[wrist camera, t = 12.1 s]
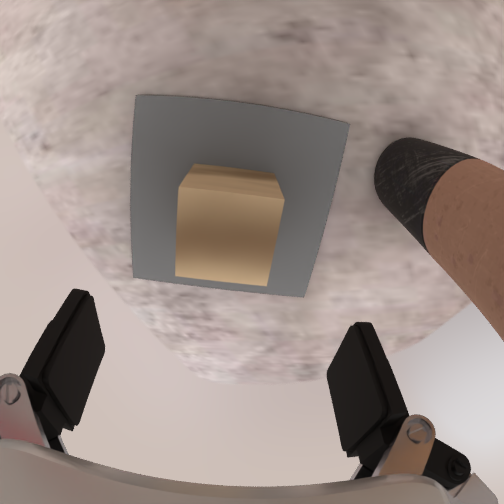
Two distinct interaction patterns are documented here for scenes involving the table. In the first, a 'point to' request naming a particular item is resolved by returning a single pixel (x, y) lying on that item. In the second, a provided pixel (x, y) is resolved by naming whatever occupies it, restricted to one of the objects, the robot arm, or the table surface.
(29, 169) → the table surface
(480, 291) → the travel mug
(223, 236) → the oak block
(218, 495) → the robot arm
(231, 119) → the charcoal mat
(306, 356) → the table surface
